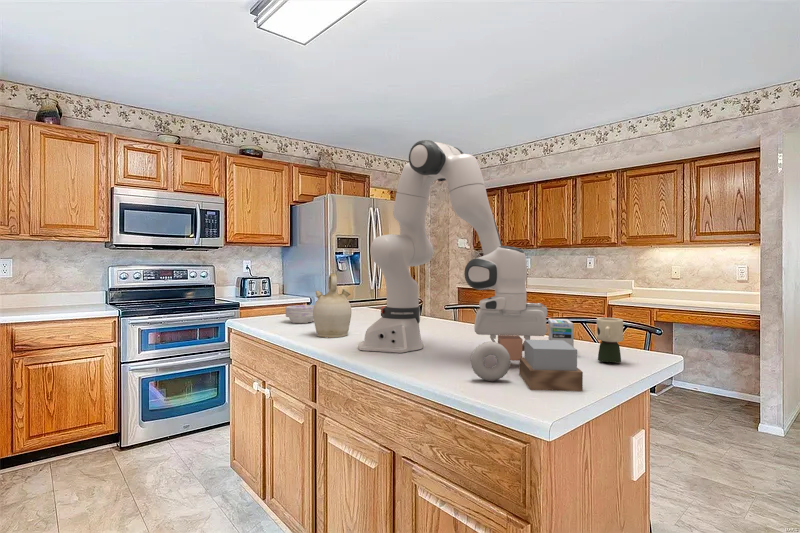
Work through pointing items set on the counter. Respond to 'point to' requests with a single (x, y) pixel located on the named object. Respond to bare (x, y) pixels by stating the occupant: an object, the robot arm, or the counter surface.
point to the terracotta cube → (512, 345)
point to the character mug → (609, 339)
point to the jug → (332, 311)
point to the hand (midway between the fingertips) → (509, 350)
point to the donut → (492, 372)
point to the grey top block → (550, 355)
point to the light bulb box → (561, 330)
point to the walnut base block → (550, 378)
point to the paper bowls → (300, 313)
